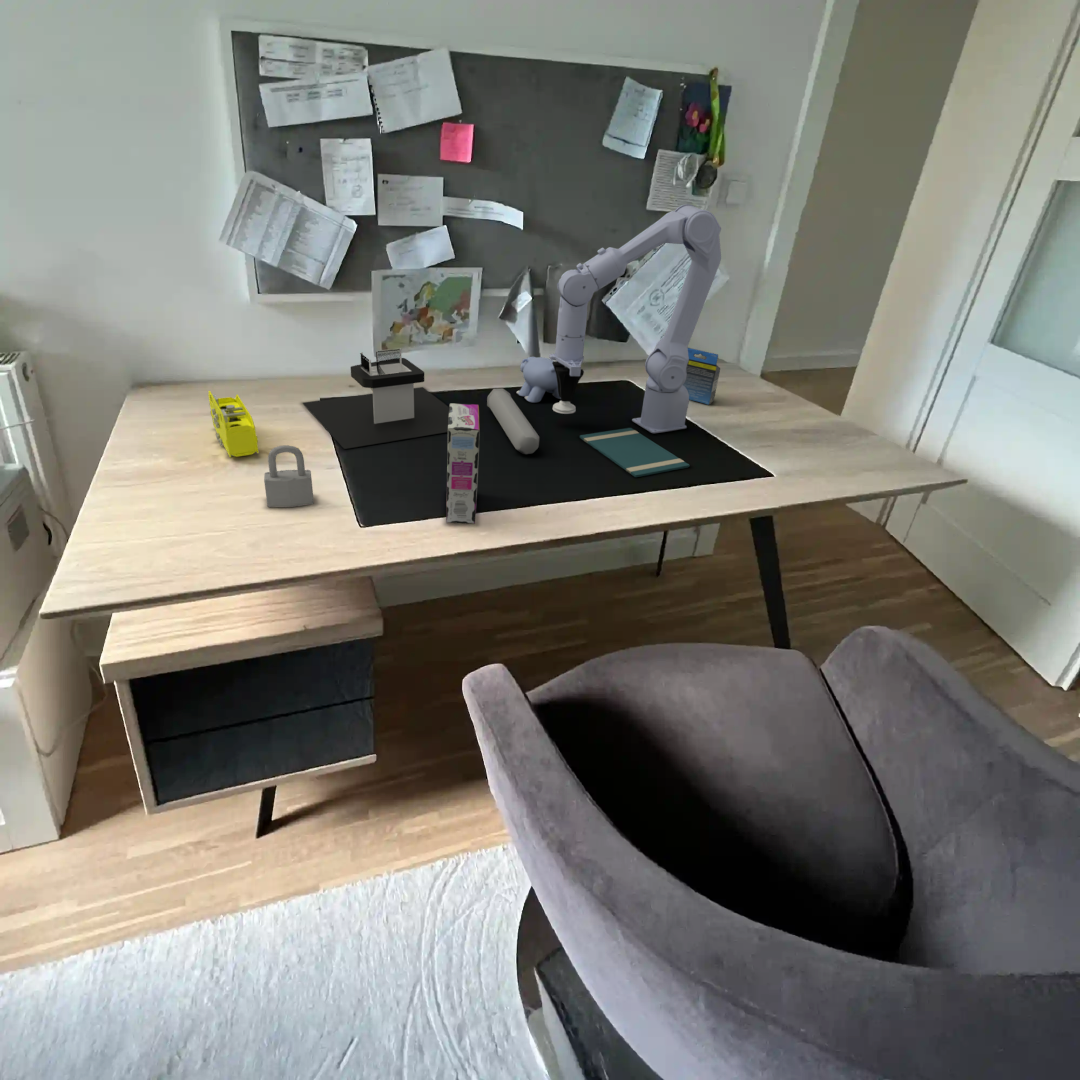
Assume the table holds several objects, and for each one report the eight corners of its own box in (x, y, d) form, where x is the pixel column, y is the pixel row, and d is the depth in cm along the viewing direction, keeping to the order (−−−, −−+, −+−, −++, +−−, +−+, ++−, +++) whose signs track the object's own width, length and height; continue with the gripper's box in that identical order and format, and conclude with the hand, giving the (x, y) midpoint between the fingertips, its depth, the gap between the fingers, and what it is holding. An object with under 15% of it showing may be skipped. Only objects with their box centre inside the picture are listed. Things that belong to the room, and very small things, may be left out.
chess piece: (559, 415, 151) (563, 368, 146) (548, 406, 155) (552, 360, 149) (579, 412, 153) (584, 366, 148) (568, 404, 157) (572, 358, 151)
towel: (630, 429, 156) (630, 427, 156) (689, 467, 142) (689, 464, 141) (579, 437, 150) (579, 435, 150) (635, 477, 136) (635, 475, 136)
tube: (547, 437, 139) (513, 391, 159) (522, 430, 137) (491, 385, 157) (537, 462, 141) (505, 413, 161) (512, 455, 139) (483, 407, 159)
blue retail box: (714, 401, 176) (725, 351, 170) (708, 405, 173) (719, 354, 167) (680, 392, 180) (689, 343, 174) (674, 396, 177) (683, 346, 171)
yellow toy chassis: (211, 429, 141) (204, 387, 136) (242, 425, 143) (236, 384, 139) (227, 461, 129) (220, 417, 125) (260, 456, 132) (254, 413, 127)
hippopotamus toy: (543, 381, 180) (546, 343, 175) (575, 401, 169) (579, 361, 164) (504, 385, 175) (506, 346, 170) (535, 407, 164) (537, 365, 159)
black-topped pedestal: (422, 387, 169) (421, 330, 162) (475, 427, 151) (477, 365, 144) (302, 403, 156) (295, 341, 149) (344, 449, 137) (339, 381, 130)
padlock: (313, 494, 121) (307, 439, 116) (314, 506, 118) (308, 449, 113) (268, 497, 119) (260, 441, 114) (267, 509, 116) (259, 452, 110)
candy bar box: (477, 525, 116) (480, 429, 108) (445, 524, 116) (446, 428, 107) (476, 493, 126) (479, 402, 117) (447, 492, 125) (448, 401, 117)
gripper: (545, 323, 151) (540, 386, 158) (557, 344, 139) (552, 411, 146) (578, 324, 152) (572, 387, 159) (593, 344, 140) (586, 411, 147)
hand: (565, 398), depth 153 cm, fingers closed on chess piece
